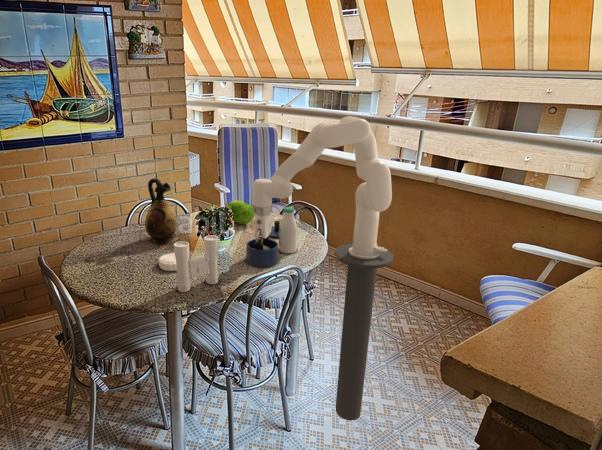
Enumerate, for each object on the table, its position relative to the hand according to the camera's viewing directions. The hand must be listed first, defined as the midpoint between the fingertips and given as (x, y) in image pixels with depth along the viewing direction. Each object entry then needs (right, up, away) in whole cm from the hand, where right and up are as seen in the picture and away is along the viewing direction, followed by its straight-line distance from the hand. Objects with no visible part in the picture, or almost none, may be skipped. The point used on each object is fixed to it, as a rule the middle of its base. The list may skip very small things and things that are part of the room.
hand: (262, 248), depth 172 cm
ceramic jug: (-47, +3, +28) cm, 55 cm away
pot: (0, -5, +2) cm, 5 cm away
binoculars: (-26, -13, -18) cm, 34 cm away
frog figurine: (0, -5, +1) cm, 5 cm away
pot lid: (+10, +6, +32) cm, 34 cm away
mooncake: (-37, -7, 0) cm, 38 cm away
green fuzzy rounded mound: (-8, +11, +50) cm, 51 cm away
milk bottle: (+12, -2, +12) cm, 17 cm away
